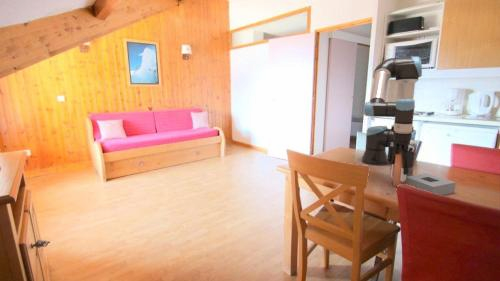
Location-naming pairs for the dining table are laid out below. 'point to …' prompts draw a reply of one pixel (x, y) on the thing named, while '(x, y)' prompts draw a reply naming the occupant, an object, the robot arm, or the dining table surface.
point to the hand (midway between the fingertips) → (398, 178)
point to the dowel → (397, 169)
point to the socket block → (431, 183)
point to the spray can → (410, 170)
